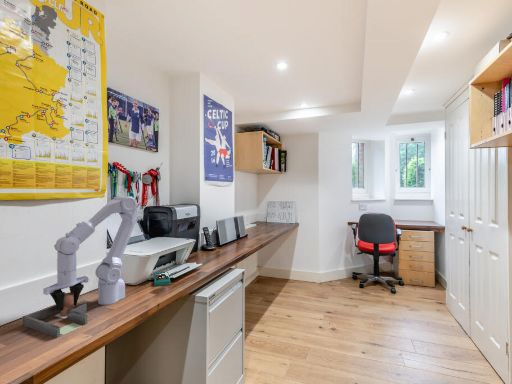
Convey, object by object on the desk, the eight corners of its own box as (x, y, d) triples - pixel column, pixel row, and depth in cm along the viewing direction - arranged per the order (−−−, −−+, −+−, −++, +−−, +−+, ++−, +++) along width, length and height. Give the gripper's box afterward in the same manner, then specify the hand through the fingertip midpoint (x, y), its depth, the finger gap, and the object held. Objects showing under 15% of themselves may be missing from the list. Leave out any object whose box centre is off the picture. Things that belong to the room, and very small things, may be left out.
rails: (70, 307, 105) (70, 299, 105) (102, 316, 98) (102, 308, 98) (23, 325, 91) (22, 316, 91) (57, 338, 84) (57, 328, 84)
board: (71, 309, 106) (71, 306, 106) (110, 320, 97) (110, 317, 97) (22, 328, 91) (22, 325, 91) (62, 343, 83) (62, 340, 83)
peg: (69, 310, 102) (69, 291, 102) (76, 312, 101) (76, 293, 101) (58, 314, 99) (57, 295, 99) (65, 317, 97) (64, 297, 97)
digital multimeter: (154, 287, 130) (154, 281, 130) (153, 277, 144) (153, 272, 144) (170, 285, 133) (170, 279, 133) (168, 276, 147) (168, 270, 147)
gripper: (79, 263, 108) (79, 298, 108) (37, 274, 94) (38, 313, 95) (91, 265, 105) (91, 301, 105) (50, 277, 92) (50, 317, 92)
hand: (67, 307), depth 100 cm, fingers open, 4 cm apart
